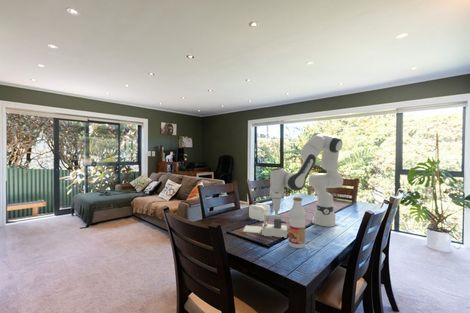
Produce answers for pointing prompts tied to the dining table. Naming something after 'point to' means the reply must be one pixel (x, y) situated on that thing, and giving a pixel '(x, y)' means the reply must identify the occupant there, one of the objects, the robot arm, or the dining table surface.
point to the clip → (270, 218)
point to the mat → (252, 229)
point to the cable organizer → (259, 211)
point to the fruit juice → (297, 224)
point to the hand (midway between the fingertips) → (276, 214)
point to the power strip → (274, 231)
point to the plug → (278, 223)
